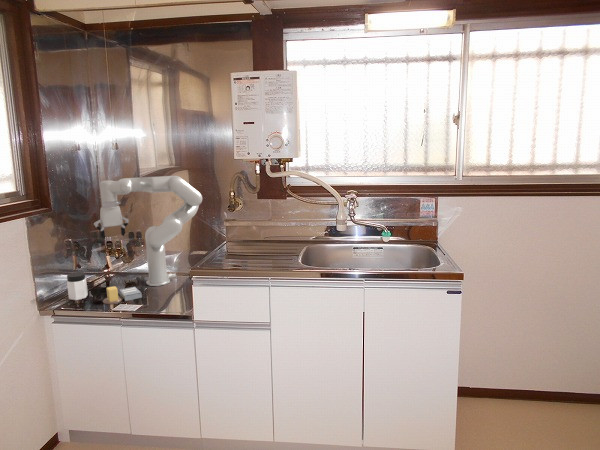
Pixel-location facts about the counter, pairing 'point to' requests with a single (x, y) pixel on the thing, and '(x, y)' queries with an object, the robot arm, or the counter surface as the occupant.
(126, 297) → the gray flat block
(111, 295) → the stub
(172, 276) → the robot arm
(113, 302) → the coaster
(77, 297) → the jar
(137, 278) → the counter surface
